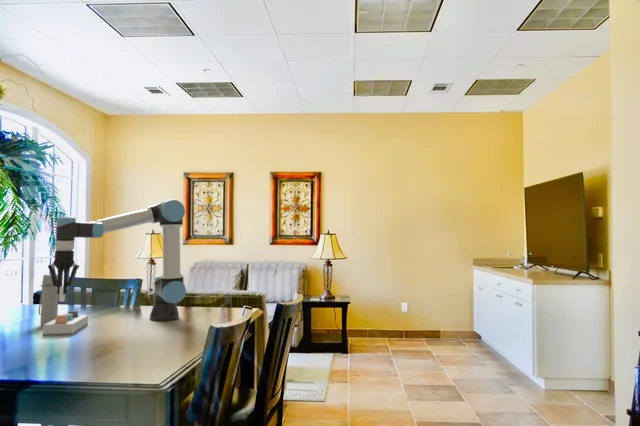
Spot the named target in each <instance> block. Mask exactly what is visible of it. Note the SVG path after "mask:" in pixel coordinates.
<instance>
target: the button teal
mask: <svg viewBox="0 0 640 426" xmlns="http://www.w3.org/2000/svg"><path fill="white" fill-rule="evenodd" d="M61 315H67V321H72V317H73V314H68V313H63V314H61Z"/></svg>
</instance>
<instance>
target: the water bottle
mask: <svg viewBox="0 0 640 426" xmlns="http://www.w3.org/2000/svg"><path fill="white" fill-rule="evenodd" d="M56 277H57V281H58V273H56ZM41 283H42V284H40V286H41V291H40V300H39V305H38V306H39V307H38V315H39V316H40V325H41V326H42V327H43V325H44V324H46V323H48V322H50V321H52V320H54V319H56V316H57V315H58V311H59V310H58V309H59V308H58V306H59V294H57V286H54V285H53V282H52V278H51V273H50V274H43V278H42V282H41ZM40 286H39V287H40Z"/></svg>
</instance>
